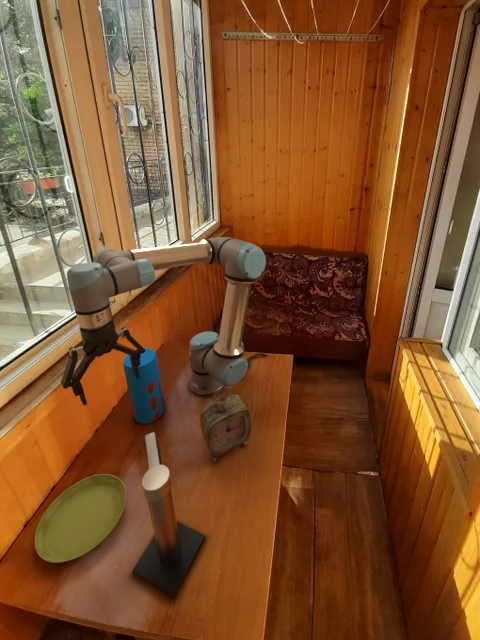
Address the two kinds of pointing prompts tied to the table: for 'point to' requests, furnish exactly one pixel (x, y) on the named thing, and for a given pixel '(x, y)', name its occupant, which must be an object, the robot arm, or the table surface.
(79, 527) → the green plate
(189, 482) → the table surface
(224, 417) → the tabletop clock
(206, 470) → the table surface
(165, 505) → the standpipe
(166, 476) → the spout
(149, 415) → the thermos
